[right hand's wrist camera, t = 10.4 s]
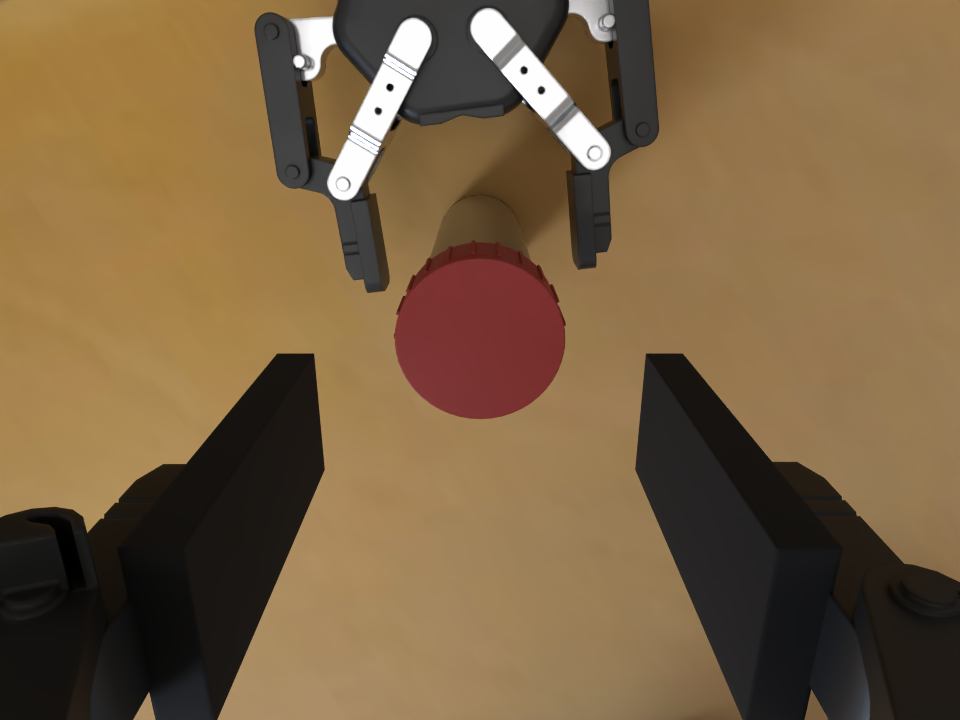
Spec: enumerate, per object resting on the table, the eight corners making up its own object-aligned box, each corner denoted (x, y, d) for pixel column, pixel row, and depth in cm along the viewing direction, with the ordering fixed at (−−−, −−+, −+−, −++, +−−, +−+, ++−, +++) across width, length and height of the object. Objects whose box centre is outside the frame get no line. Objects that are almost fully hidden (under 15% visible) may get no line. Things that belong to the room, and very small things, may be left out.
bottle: (464, 179, 33) (451, 238, 18) (535, 221, 34) (580, 311, 19) (425, 251, 34) (382, 362, 19) (494, 290, 35) (505, 426, 20)
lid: (448, 208, 20) (445, 220, 17) (589, 289, 20) (602, 310, 18) (374, 345, 21) (362, 372, 19) (508, 415, 22) (511, 448, 20)
